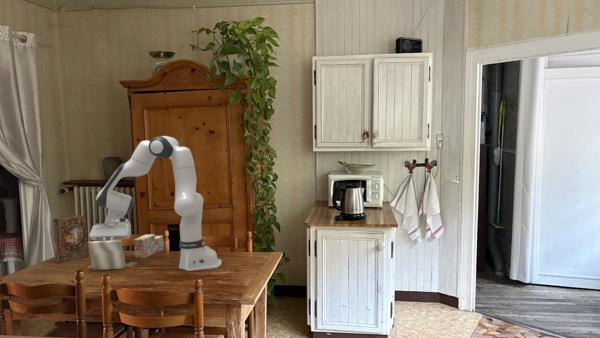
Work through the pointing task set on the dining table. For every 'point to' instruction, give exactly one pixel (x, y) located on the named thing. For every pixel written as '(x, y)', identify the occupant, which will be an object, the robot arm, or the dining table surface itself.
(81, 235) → the book
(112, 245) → the metal panel
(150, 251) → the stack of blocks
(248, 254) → the dining table surface
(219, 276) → the dining table surface
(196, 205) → the robot arm
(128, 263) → the grey flat bar
